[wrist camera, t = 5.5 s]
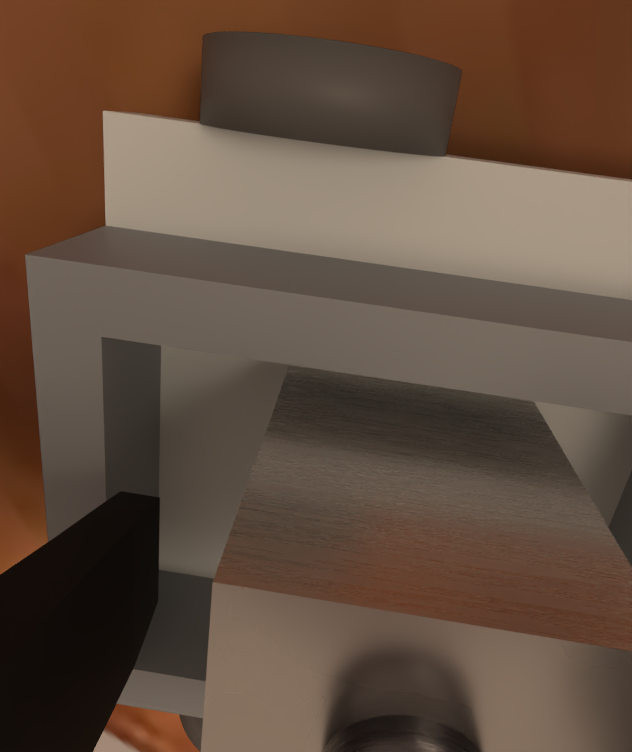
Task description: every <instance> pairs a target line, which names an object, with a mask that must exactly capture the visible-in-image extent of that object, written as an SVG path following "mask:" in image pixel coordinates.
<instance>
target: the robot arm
mask: <svg viewBox="0 0 632 752" xmlns="http://www.w3.org/2000/svg"><path fill="white" fill-rule="evenodd" d="M159 523H160V497H155V496H148V495H142V494H136V493H129V492H123V491H120V492H118V493H117V494H116V495H114V496H113V497H111V498H110V499H108V500H107V501H105V502H104V503H102V504H101V505H100V506H98V507H97V508H95V509H94V510H92V511H91V512H90V513H88V514H87V515H85V516H84V517H83V518H81V519H80V520H78V521H77V522H76V523H74V524H73V525H71V526H70V527H69V528H67V529H66V530H64V531H63V532H62V533H60V534H59V535H57V536H56V537H55V538H53V539H52V540H50V541H49V542H47V543H46V544H45V545H43V546H42V547H40V548H39V549H37V550H36V551H34V552H33V553H32V554H30V555H29V556H27V557H26V558H24V559H23V560H21V561H20V562H18V563H17V564H15V565H14V566H13V567H11V568H10V569H8V570H7V571H5V572H4V573H2V574H1V575H0V752H93V750H94V748H95V746H96V744H97V742H98V740H99V738H100V736H101V734H102V732H103V730H104V728H105V726H106V724H107V722H108V720H109V718H110V716H111V714H112V712H113V710H114V708H115V706H116V703H117V701H118V699H119V697H120V695H121V693H122V691H123V689H124V687H125V685H126V683H127V681H128V679H129V677H130V675H131V673H132V670H133V668H134V666H135V664H136V661H137V658H138V656H139V653H140V650H141V647H142V645H143V642H144V639H145V637H146V634H147V631H148V628H149V625H150V623H151V620H152V617H153V614H154V611H155V608H156V606H157V603H158V585H159Z"/></svg>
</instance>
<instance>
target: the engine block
mask: <svg viewBox="0 0 632 752" xmlns="http://www.w3.org/2000/svg"><path fill="white" fill-rule="evenodd" d="M201 752H632V567H631V565H630V564H629V562H628V560H627V558H626V557H625V555H624V553H623V552H622V550H621V548H620V547H619V545H618V543H617V541H616V540H615V538H614V536H613V535H612V533H611V531H610V530H609V528H608V526H607V525H606V523H605V521H604V519H603V518H602V516H601V514H600V513H599V511H598V509H597V508H596V506H595V504H594V502H593V501H592V499H591V497H590V496H589V494H588V492H587V491H586V489H585V487H584V485H583V484H582V482H581V480H580V479H579V477H578V475H577V474H576V472H575V470H574V469H573V467H572V465H571V463H570V462H569V460H568V458H567V457H566V455H565V453H564V452H563V450H562V448H561V446H560V445H559V443H558V441H557V440H556V438H555V436H554V435H553V433H552V431H551V430H550V428H549V426H548V424H547V423H546V421H545V419H544V418H543V416H542V414H541V413H540V411H539V409H538V407H537V406H536V404H535V402H534V401H530V400H523V399H516V398H510V397H503V396H496V395H490V394H483V393H476V392H469V391H463V390H456V389H449V388H443V387H436V386H429V385H422V384H416V383H409V382H402V381H395V380H389V379H382V378H375V377H369V376H362V375H355V374H348V373H342V372H335V371H328V370H322V369H315V368H308V367H301V366H295V365H289V368H288V371H287V373H286V376H285V379H284V382H283V385H282V388H281V390H280V393H279V396H278V399H277V402H276V404H275V407H274V410H273V413H272V416H271V419H270V421H269V424H268V427H267V430H266V433H265V436H264V438H263V441H262V444H261V447H260V450H259V452H258V455H257V458H256V461H255V464H254V467H253V469H252V472H251V475H250V478H249V481H248V484H247V486H246V489H245V492H244V495H243V498H242V501H241V503H240V506H239V509H238V512H237V515H236V517H235V520H234V523H233V526H232V529H231V532H230V534H229V537H228V540H227V543H226V546H225V549H224V551H223V554H222V557H221V560H220V563H219V566H218V568H217V571H216V574H215V577H214V580H213V584H212V599H211V613H210V627H209V641H208V656H207V670H206V684H205V698H204V712H203V727H202V741H201Z"/></svg>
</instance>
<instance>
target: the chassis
mask: <svg viewBox="0 0 632 752" xmlns="http://www.w3.org/2000/svg"><path fill="white" fill-rule="evenodd" d="M461 76H462V70H461V69H459V68H458V67H455V66H453V65H451V64H448V63H445V62H442V61H438V60H435V59H431V58H427V57H423V56H419V55H415V54H410V53H406V52H401V51H396V50H391V49H385V48H380V47H374V46H368V45H362V44H356V43H349V42H343V41H335V40H328V39H321V38H312V37H304V36H294V35H284V34H273V33H259V32H212V33H207V34H204V35H203V46H202V73H201V99H200V121H194V120H187V119H180V118H172V117H165V116H157V115H150V114H142V113H132V112H117V111H103V137H104V179H105V221H106V225H105V226H103V227H100V228H97V229H94V230H92V231H89V232H86V233H83V234H81V235H78V236H75V237H72V238H70V239H67V240H64V241H61V242H58V243H56V244H53V245H50V246H47V247H45V248H42V249H39V250H36V251H34V252H31V253H28V254H25V260H26V272H27V285H28V297H29V309H30V322H31V334H32V347H33V359H34V371H35V384H36V396H37V409H38V421H39V433H40V446H41V458H42V471H43V483H44V495H45V508H46V520H47V533H48V542H49V541H50V540H52V539H53V538H55V537H56V536H57V535H59V534H60V533H62V532H63V531H64V530H66V529H67V528H69V527H70V526H71V525H73V524H74V523H76V522H77V521H78V520H80V519H81V518H83V517H84V516H85V515H87V514H88V513H90V512H91V511H92V510H94V509H95V508H97V507H98V506H100V505H101V504H102V503H104V502H105V501H107V500H108V499H110V498H111V497H113V496H114V495H116V494H117V493H118V492H120V491H123V492H129V493H136V494H142V495H148V496H155V497H160V523H159V585H158V603H157V606H156V608H155V611H154V614H153V617H152V620H151V623H150V625H149V628H148V631H147V634H146V637H145V639H144V642H143V645H142V647H141V650H140V653H139V656H138V658H137V661H136V664H135V666H134V668H133V670H132V673H131V675H130V677H129V679H128V681H127V683H126V685H125V687H124V689H123V691H122V693H121V695H120V697H119V699H118V701H117V703H116V704H122V705H128V706H134V707H140V708H145V709H151V710H157V711H163V712H169V713H175V714H179V715H180V719H181V722H182V725H183V728H184V730H185V732H186V734H187V736H188V737H189V739H190V740H191V742H192V743H193V744H194V746H195V747H196V748H197V749H198V750H199V751H200V752H201V741H202V727H203V712H204V698H205V684H206V670H207V656H208V641H209V627H210V613H211V599H212V584H213V580H214V577H215V574H216V571H217V568H218V566H219V563H220V560H221V557H222V554H223V551H224V549H225V546H226V543H227V540H228V537H229V534H230V532H231V529H232V526H233V523H234V520H235V517H236V515H237V512H238V509H239V506H240V503H241V501H242V498H243V495H244V492H245V489H246V486H247V484H248V481H249V478H250V475H251V472H252V469H253V467H254V464H255V461H256V458H257V455H258V452H259V450H260V447H261V444H262V441H263V438H264V436H265V433H266V430H267V427H268V424H269V421H270V419H271V416H272V413H273V410H274V407H275V404H276V402H277V399H278V396H279V393H280V390H281V388H282V385H283V382H284V379H285V376H286V373H287V371H288V368H289V365H295V366H301V367H308V368H315V369H322V370H328V371H335V372H342V373H348V374H355V375H362V376H369V377H375V378H382V379H389V380H395V381H402V382H409V383H416V384H422V385H429V386H436V387H443V388H449V389H456V390H463V391H469V392H476V393H483V394H490V395H496V396H503V397H510V398H516V399H523V400H530V401H534V402H535V404H536V406H537V407H538V409H539V411H540V413H541V414H542V416H543V418H544V419H545V421H546V423H547V424H548V426H549V428H550V430H551V431H552V433H553V435H554V436H555V438H556V440H557V441H558V443H559V445H560V446H561V448H562V450H563V452H564V453H565V455H566V457H567V458H568V460H569V462H570V463H571V465H572V467H573V469H574V470H575V472H576V474H577V475H578V477H579V479H580V480H581V482H582V484H583V485H584V487H585V489H586V491H587V492H588V494H589V496H590V497H591V499H592V501H593V502H594V504H595V506H596V508H597V509H598V511H599V513H600V514H601V516H602V518H603V519H604V521H605V523H606V525H607V526H608V528H609V530H610V531H611V533H612V535H613V536H614V538H615V540H616V541H617V543H618V545H619V547H620V548H621V550H622V552H623V553H624V555H625V557H626V558H627V560H628V562H629V564H630V565H631V567H632V179H625V178H617V177H610V176H603V175H595V174H588V173H580V172H573V171H566V170H558V169H551V168H543V167H536V166H528V165H521V164H514V163H506V162H499V161H491V160H484V159H476V158H469V157H462V156H454V155H447V154H446V151H447V146H448V141H449V136H450V131H451V126H452V121H453V116H454V111H455V106H456V101H457V96H458V91H459V86H460V81H461Z"/></svg>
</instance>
